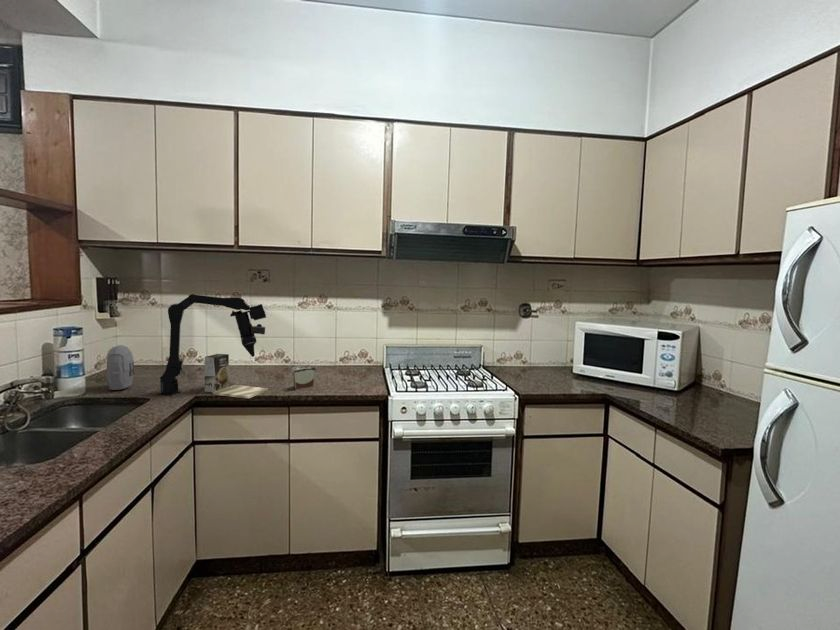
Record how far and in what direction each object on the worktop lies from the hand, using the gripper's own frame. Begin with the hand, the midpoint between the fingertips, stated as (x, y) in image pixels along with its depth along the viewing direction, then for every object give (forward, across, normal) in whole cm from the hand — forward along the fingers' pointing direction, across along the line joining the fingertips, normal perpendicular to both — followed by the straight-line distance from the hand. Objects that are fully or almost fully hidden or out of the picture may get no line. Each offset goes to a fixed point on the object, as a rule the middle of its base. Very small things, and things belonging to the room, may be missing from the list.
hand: (252, 354), depth 200 cm
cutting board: (+14, -9, +9) cm, 19 cm away
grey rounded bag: (+2, +15, +57) cm, 59 cm away
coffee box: (+11, -1, +19) cm, 22 cm away
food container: (+20, -8, -17) cm, 28 cm away
